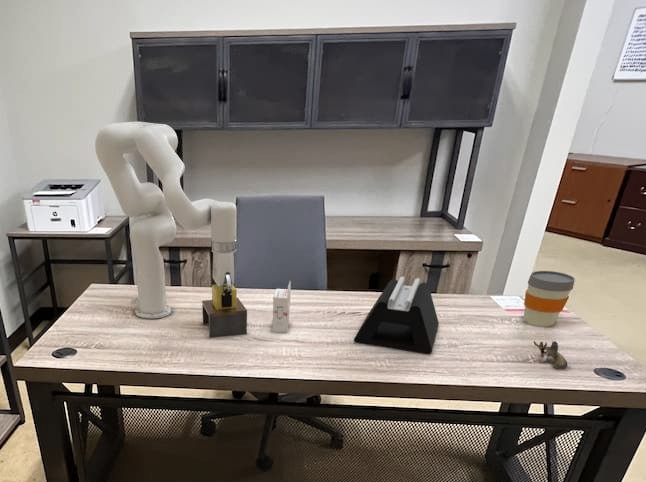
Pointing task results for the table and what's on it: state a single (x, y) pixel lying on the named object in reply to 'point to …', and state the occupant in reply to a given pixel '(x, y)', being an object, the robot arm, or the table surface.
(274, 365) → the table surface
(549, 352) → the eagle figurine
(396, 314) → the device stand
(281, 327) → the ink cartridge box
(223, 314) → the stand
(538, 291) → the reusable coffee cup
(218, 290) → the sticky-note cube
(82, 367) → the table surface
